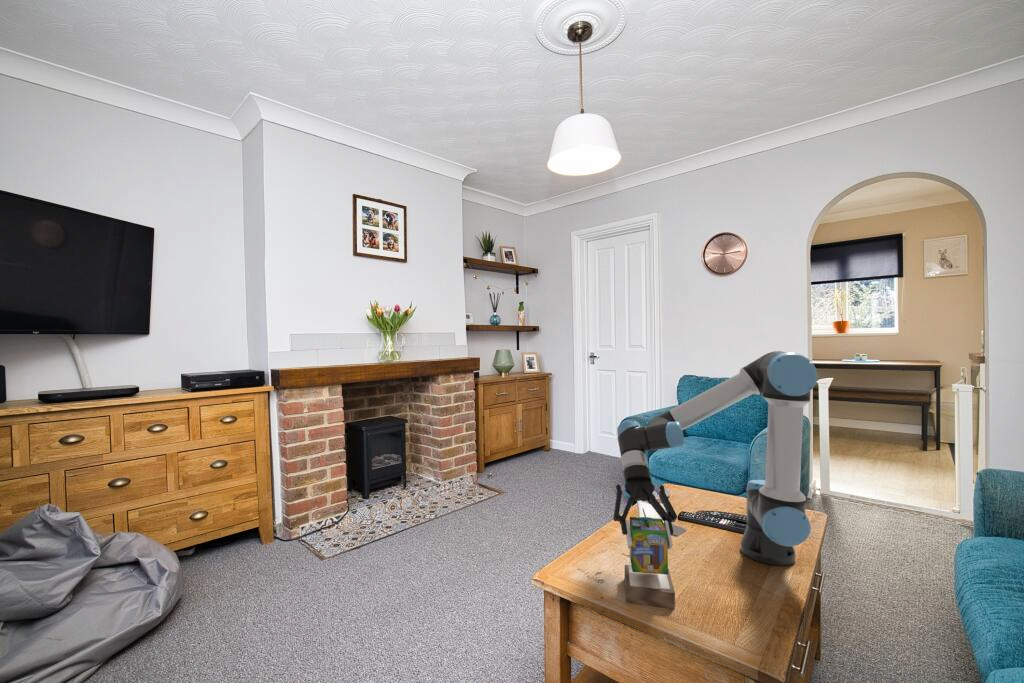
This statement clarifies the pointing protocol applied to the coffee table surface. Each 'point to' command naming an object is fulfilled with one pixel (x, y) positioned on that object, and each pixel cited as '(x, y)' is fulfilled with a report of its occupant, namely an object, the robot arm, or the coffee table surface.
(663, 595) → the base brick
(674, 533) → the smartphone
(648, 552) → the chalk box
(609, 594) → the coffee table surface
